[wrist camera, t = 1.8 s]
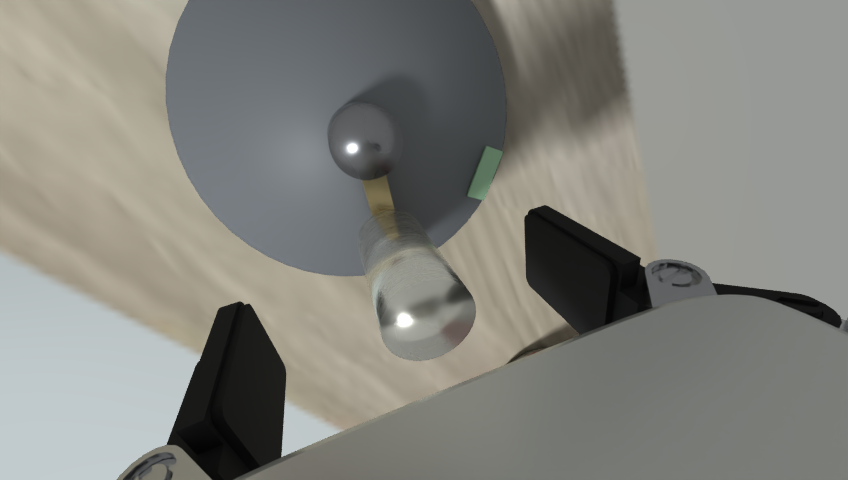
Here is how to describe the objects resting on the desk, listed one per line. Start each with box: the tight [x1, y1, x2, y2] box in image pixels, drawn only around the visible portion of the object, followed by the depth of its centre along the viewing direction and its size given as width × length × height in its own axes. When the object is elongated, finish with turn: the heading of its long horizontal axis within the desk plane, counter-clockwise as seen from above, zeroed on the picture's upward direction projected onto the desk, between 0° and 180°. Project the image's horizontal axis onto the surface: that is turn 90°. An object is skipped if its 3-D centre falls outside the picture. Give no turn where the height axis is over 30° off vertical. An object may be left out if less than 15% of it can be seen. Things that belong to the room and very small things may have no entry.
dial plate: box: [166, 0, 506, 276], centre depth 15 cm, size 14×14×2 cm
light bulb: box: [327, 101, 476, 361], centre depth 12 cm, size 8×3×7 cm, turn 10°
